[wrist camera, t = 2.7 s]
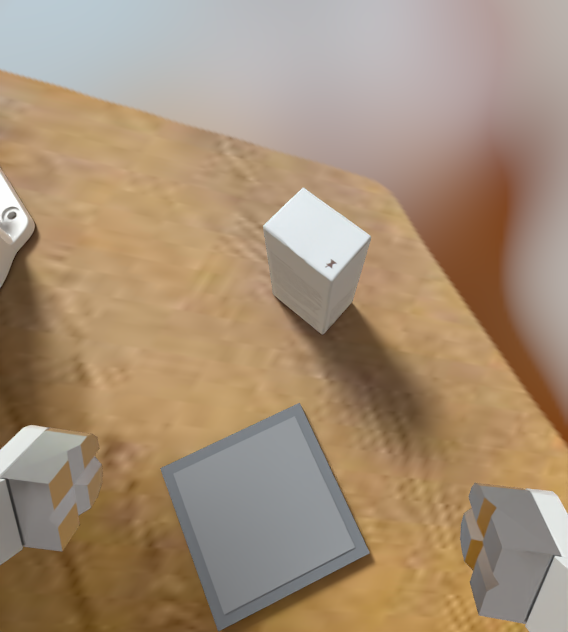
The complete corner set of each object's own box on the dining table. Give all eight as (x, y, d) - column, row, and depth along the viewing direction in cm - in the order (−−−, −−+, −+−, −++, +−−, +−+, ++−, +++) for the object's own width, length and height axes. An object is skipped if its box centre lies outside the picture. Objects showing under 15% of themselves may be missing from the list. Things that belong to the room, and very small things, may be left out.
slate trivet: (163, 468, 37) (159, 468, 36) (299, 404, 38) (299, 402, 37) (220, 627, 33) (217, 632, 32) (368, 551, 34) (370, 553, 34)
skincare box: (353, 301, 41) (375, 237, 29) (322, 336, 40) (332, 284, 28) (301, 260, 42) (303, 183, 31) (270, 293, 41) (259, 227, 30)
